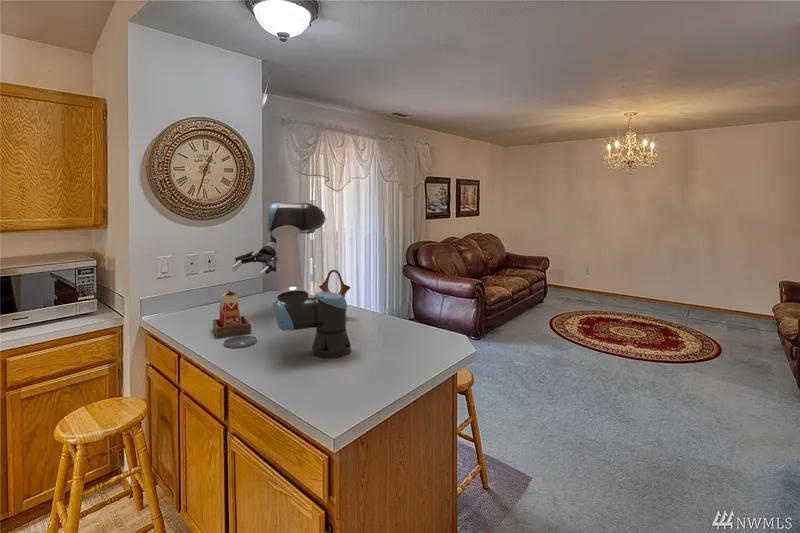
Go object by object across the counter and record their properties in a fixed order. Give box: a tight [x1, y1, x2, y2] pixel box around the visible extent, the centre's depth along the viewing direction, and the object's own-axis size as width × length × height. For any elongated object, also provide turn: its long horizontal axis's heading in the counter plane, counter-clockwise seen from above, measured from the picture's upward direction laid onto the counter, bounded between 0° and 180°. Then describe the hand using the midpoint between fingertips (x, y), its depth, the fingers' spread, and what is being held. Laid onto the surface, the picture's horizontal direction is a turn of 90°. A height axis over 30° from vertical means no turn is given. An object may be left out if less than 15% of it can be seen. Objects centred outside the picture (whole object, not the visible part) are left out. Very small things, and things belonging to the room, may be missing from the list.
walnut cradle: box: [212, 315, 252, 339], centre depth 188 cm, size 14×14×4 cm
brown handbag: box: [318, 269, 351, 311], centre depth 207 cm, size 16×9×25 cm, turn 77°
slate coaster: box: [223, 335, 258, 349], centre depth 175 cm, size 13×13×1 cm
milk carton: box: [219, 288, 242, 327], centre depth 188 cm, size 9×9×20 cm
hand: (247, 272), depth 189 cm, fingers open, 13 cm apart
